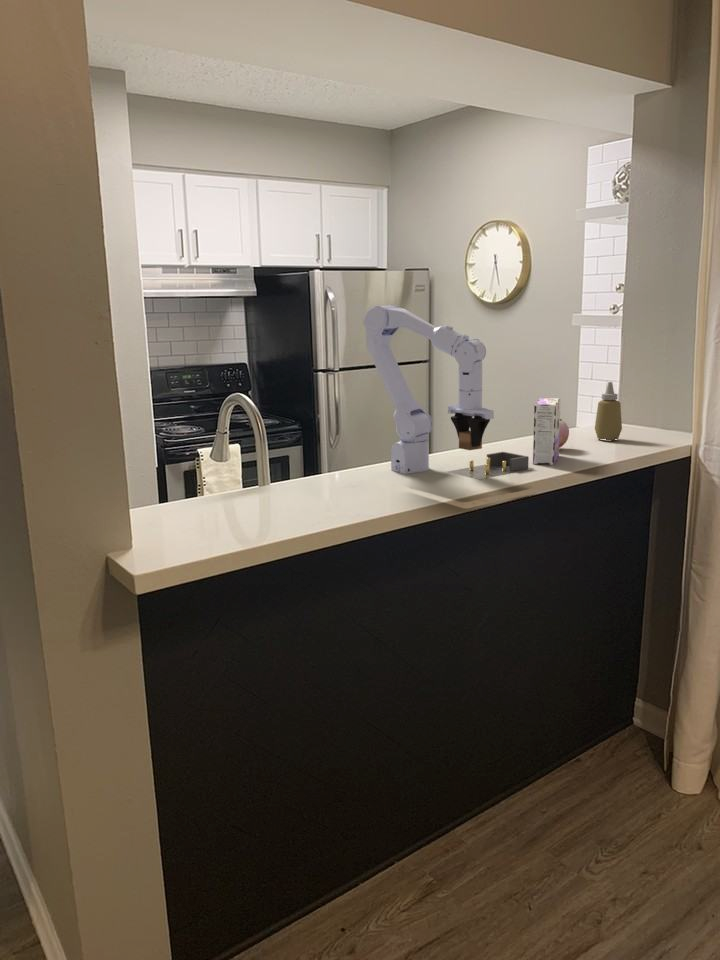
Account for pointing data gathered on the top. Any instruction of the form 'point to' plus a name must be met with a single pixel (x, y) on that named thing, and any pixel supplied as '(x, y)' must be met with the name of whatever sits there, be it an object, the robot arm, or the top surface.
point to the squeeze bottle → (608, 415)
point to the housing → (509, 460)
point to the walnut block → (467, 441)
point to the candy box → (546, 431)
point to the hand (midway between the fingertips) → (470, 445)
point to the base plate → (486, 470)
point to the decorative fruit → (563, 433)
